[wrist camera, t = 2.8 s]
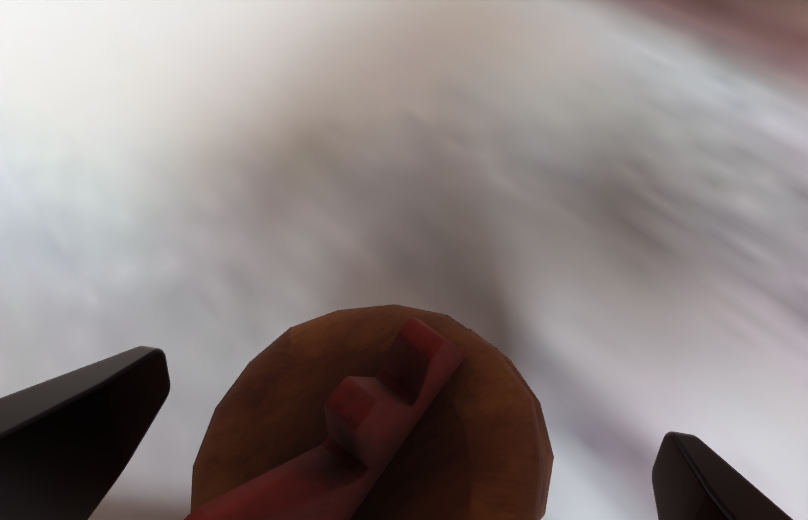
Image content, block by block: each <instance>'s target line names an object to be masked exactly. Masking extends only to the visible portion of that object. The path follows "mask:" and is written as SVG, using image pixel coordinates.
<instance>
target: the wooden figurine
mask: <svg viewBox="0 0 808 520" xmlns="http://www.w3.org/2000/svg"><path fill="white" fill-rule="evenodd" d="M553 459H554V456H553V452H552V448H551V444H550V440H549V436H548V432H547V428H546V424H545V420H544V416H543V412H542V408H541V404H540V402H539V400H538V399H537V397H536V396H535V395H534V393H533V392H532V390H531V389H530V387H529V386H528V384H527V383H526V382H525V380H524V379H523V377H522V376H521V374H520V373H519V372H518V370H517V369H516V367H515V366H514V364H513V363H512V361H511V360H510V359H509V358H507V357H506V356H505V355H503V354H502V353H501V352H499V351H498V349H497V348H496V347H494V346H493V345H491V344H490V343H488V342H487V341H485V340H484V339H483V338H481V337H480V336H479V335H477V334H476V333H475V332H473V331H472V330H471V329H468V328H466V327H464V326H463V325H461V324H460V323H458V322H457V321H455V320H454V319H452V318H451V317H449V316H448V315H444V314H439V313H434V312H429V311H424V310H420V309H415V308H410V307H405V306H400V305H386V306H376V307H366V308H357V309H347V310H338V311H335V312H332V313H329V314H327V315H324V316H321V317H318V318H316V319H313V320H310V321H307V322H305V323H302V324H299V325H296V326H294V327H291V328H289V329H288V330H287V331H286V332H285V333H283V334H282V335H281V336H280V337H279V338H277V339H276V340H275V341H274V342H273V343H272V344H270V345H269V346H268V347H267V348H266V349H265V350H263V351H262V352H261V353H260V354H259V355H258V356H256V357H255V358H254V359H253V360H252V361H250V362H249V364H248V365H247V366H246V368H245V369H244V370H243V372H242V373H241V374H240V376H239V377H238V378H237V380H236V381H235V382H234V384H233V385H232V387H231V388H230V389H229V391H228V392H227V393H226V395H225V396H224V397H223V399H222V400H221V401H220V403H219V404H218V405H217V407H216V408H215V411H214V413H213V416H212V418H211V421H210V424H209V426H208V429H207V431H206V434H205V437H204V439H203V442H202V444H201V447H200V449H199V452H198V455H197V457H196V460H195V462H194V465H193V474H192V495H191V513H190V514H189V515H188V516H187V517H186V518H185V519H184V520H541V518H542V517H543V516H544V514H545V510H546V504H547V497H548V491H549V484H550V478H551V472H552V465H553Z"/></svg>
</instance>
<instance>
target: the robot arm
mask: <svg viewBox="0 0 808 520" xmlns="http://www.w3.org/2000/svg"><path fill="white" fill-rule="evenodd" d="M169 391H170V379H169V373H168V367H167V361H166V356H165V353H164V352H163V350H161V349H159V348H153V347H147V346H139V347H136V348H133V349H131V350H128V351H125V352H123V353H120V354H117V355H115V356H112V357H109V358H107V359H104V360H101V361H99V362H96V363H93V364H91V365H88V366H85V367H83V368H80V369H77V370H75V371H72V372H69V373H67V374H64V375H61V376H59V377H56V378H53V379H51V380H48V381H45V382H42V383H40V384H37V385H34V386H32V387H29V388H26V389H24V390H21V391H18V392H16V393H13V394H10V395H8V396H5V397H2V398H0V520H88V519H89V517H90V516H91V514H92V513H93V512H94V510H95V509H96V508H97V506H98V505H99V503H100V502H101V501H102V499H103V498H104V497H105V495H106V494H107V492H108V491H109V490H110V488H111V487H112V486H113V484H114V483H115V481H116V480H117V479H118V477H119V476H120V474H121V473H122V471H123V470H124V469H125V467H126V465H127V464H128V462H129V461H130V459H131V457H132V456H133V454H134V452H135V451H136V449H137V447H138V446H139V444H140V442H141V441H142V439H143V437H144V436H145V434H146V432H147V431H148V429H149V427H150V425H151V424H152V422H153V420H154V419H155V417H156V415H157V414H158V412H159V410H160V409H161V407H162V405H163V404H164V402H165V400H166V398H167V396H168V394H169ZM652 484H653V490H654V496H655V502H656V507H657V513H658V519H659V520H793V519H792V518H791V517H789V516H788V515H787V514H786V513H785V512H784V511H782V510H781V509H780V508H779V507H778V506H777V505H775V504H774V503H773V502H772V501H771V500H770V499H769V498H767V497H766V496H765V495H764V494H763V493H762V492H760V491H759V490H758V489H757V488H756V487H755V486H753V485H752V484H751V483H750V482H749V481H748V480H747V479H745V478H744V477H743V476H742V475H741V474H740V473H738V472H737V471H736V470H735V469H734V468H733V467H731V466H730V465H729V464H728V463H727V462H726V461H725V460H723V459H722V458H721V457H720V456H719V455H718V454H716V453H715V452H714V451H713V450H712V449H711V448H709V447H708V446H707V445H706V444H705V443H704V442H703V441H701V440H700V439H699V438H698V437H696V436H694V435H691V434H685V433H679V432H668V433H667V434H666V435H665V436H664V438H663V441H662V444H661V446H660V449H659V452H658V455H657V457H656V460H655V463H654V466H653V470H652Z"/></svg>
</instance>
